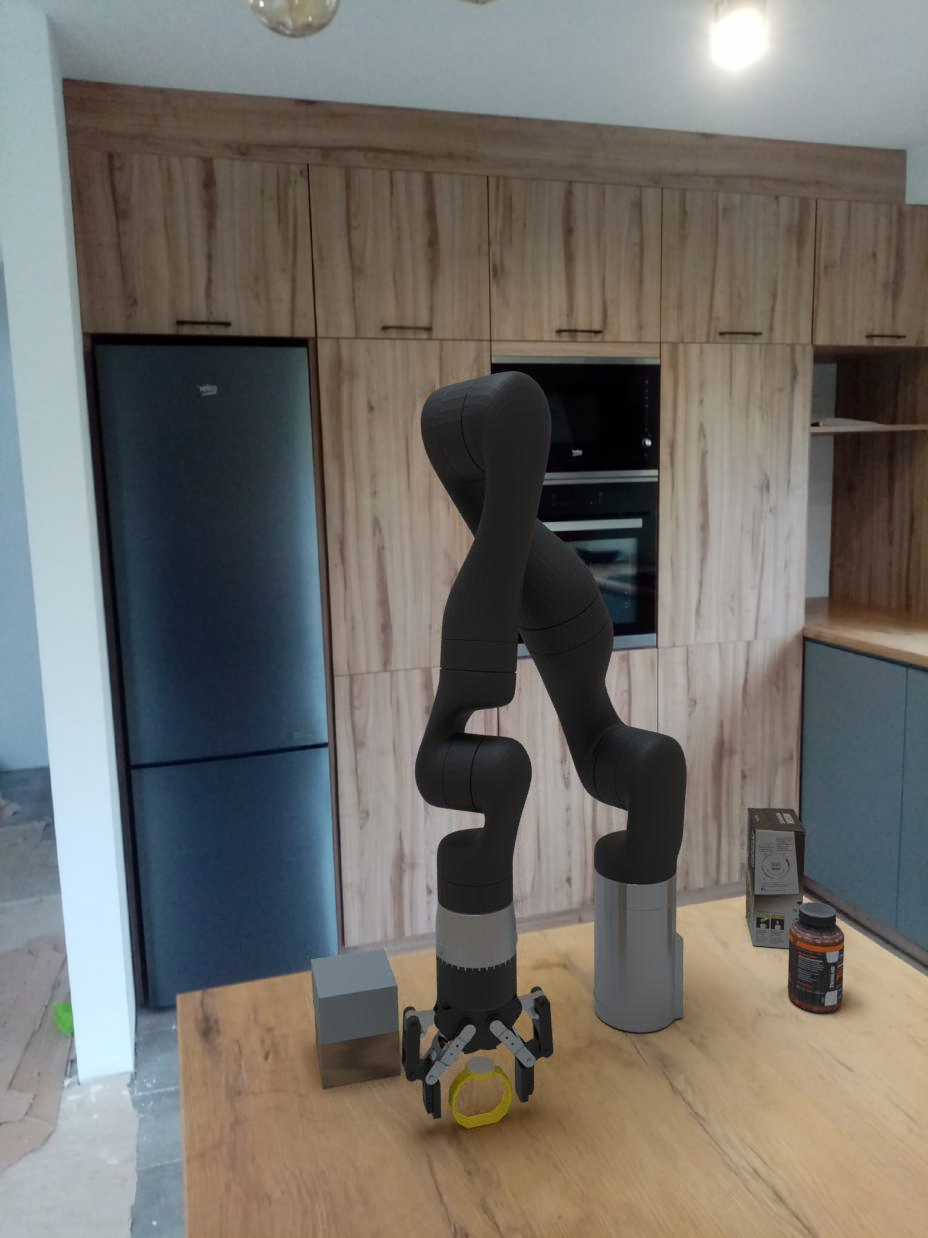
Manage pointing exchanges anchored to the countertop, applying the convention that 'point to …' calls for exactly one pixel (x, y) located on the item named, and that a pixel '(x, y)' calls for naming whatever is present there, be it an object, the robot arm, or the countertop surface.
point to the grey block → (354, 996)
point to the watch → (480, 1071)
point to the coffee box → (773, 874)
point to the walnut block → (358, 1059)
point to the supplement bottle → (816, 959)
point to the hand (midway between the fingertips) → (478, 1105)
